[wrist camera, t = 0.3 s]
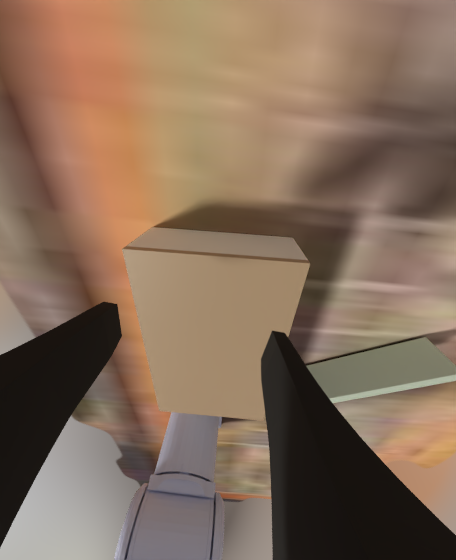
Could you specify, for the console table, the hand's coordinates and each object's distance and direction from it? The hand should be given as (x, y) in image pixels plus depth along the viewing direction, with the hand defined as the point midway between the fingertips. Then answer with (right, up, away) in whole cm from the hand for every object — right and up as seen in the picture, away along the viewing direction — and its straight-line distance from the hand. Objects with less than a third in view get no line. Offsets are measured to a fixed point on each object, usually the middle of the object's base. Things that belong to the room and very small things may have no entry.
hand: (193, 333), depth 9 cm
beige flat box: (+1, -2, +13) cm, 13 cm away
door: (+15, -8, +15) cm, 22 cm away
